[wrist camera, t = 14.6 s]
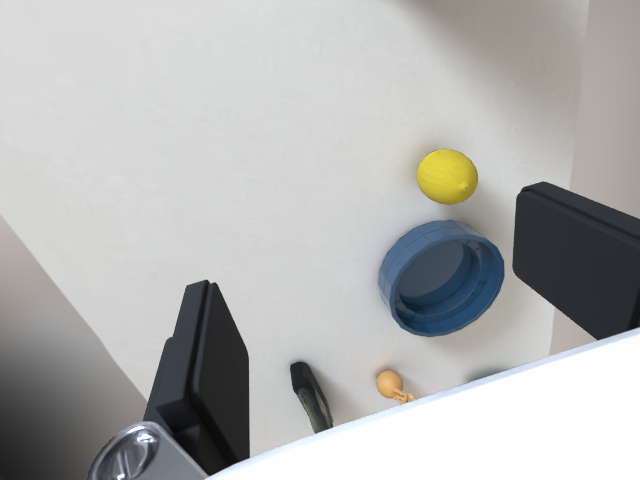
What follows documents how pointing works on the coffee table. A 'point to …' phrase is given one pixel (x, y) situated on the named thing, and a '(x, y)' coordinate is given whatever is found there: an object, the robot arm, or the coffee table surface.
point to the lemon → (447, 176)
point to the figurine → (392, 386)
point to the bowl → (440, 278)
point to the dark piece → (311, 397)
